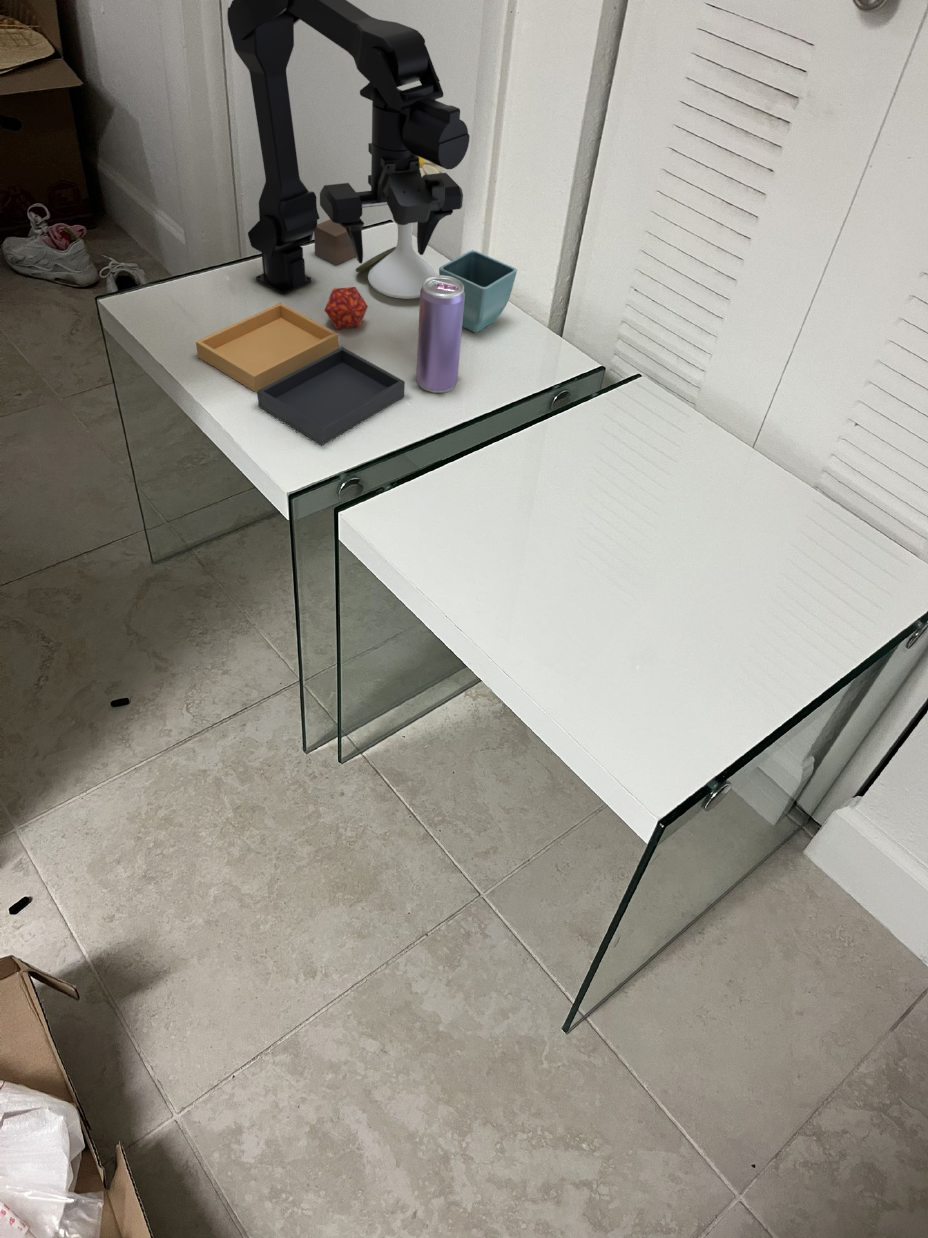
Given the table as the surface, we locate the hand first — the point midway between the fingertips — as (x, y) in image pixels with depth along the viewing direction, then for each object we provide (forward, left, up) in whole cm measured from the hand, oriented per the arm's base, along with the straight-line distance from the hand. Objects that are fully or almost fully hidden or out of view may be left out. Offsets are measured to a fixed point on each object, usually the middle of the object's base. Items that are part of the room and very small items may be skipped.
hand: (390, 257), depth 133 cm
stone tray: (+5, -17, -13) cm, 22 cm away
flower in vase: (-8, +13, -13) cm, 20 cm away
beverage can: (+12, -3, -13) cm, 18 cm away
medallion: (-15, +13, -10) cm, 22 cm away
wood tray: (-10, -15, -13) cm, 22 cm away
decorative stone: (-8, -1, -13) cm, 15 cm away
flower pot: (+5, +14, -13) cm, 20 cm away
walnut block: (-24, +13, -13) cm, 31 cm away
